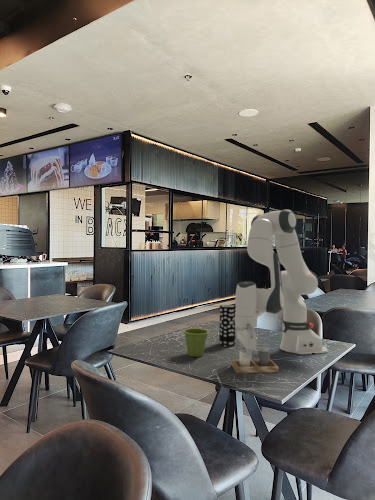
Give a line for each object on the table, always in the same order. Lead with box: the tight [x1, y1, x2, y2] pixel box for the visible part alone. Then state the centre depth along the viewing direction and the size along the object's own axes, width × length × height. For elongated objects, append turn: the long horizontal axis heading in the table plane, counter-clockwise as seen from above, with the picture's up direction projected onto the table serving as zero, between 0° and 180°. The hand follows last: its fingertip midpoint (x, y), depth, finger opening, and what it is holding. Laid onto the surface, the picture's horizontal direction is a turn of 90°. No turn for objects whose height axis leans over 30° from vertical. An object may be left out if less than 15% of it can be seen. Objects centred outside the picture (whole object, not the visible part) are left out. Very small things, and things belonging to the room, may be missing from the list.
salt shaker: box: [238, 347, 251, 367], centre depth 154 cm, size 4×4×8 cm
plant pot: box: [183, 327, 209, 358], centre depth 176 cm, size 12×12×11 cm
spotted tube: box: [218, 304, 236, 348], centre depth 195 cm, size 8×8×20 cm
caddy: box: [231, 359, 280, 374], centre depth 155 cm, size 17×10×3 cm, turn 94°
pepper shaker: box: [258, 347, 271, 367], centre depth 155 cm, size 4×4×8 cm
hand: (245, 355), depth 154 cm, fingers open, 8 cm apart
